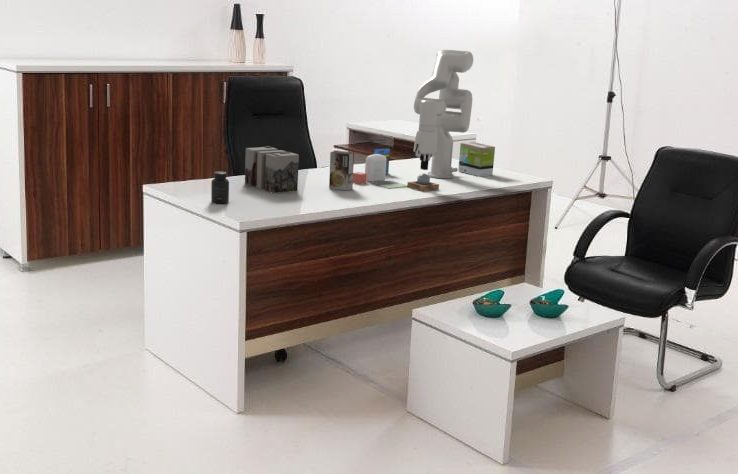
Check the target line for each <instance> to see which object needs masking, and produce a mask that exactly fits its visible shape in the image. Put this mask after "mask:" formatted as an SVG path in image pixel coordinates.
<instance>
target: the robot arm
mask: <svg viewBox="0 0 738 474" xmlns="http://www.w3.org/2000/svg"><path fill="white" fill-rule="evenodd" d="M473 64H474V55H473V53H472V52H471V51H467V50H455V49H454V50H453V49H442V50H439V51H438V52H437V53H436V58H435V62H434V66H433V70H432V72H431V73H432V74H431V78H430V79H429V80H428V79H427V81H425V82H424V83H423V84H422V85H421V86H420V87H419V88H418V90H417V92H416V95H415V97H414V103H413V110H414V113H415V114H417V115H419V122H418V130H417V131H416V134H415V138H414V145H413V152H414V153H415V155H414V156H415V157H417V158H419V161H420V170H423V171H428V170H429V161H430V160H431V167H430V171H429V172H427V175H428V176H429V177H430V178H435V179H453V178H454V177H455V176H454V175H455V174H453V173H455V172H459V171H458V169H459V168H458V167H452V161H453V160H452V158H453V149H454V148H453V146H454V139H453V137H452V135H451V134H450V132H451V133H452V132H453V133H460V134H461V133H462V134H463V133H466V132H468V130H469V129H470V125H471V117H472V116H471V115H472V107H473V94H472V92H471V91H470V90H468V89H464V88H461V89H460V88H459V85H460V84H459V83H460V78H459V75H458V74H457V73H462V74H463V73H467V72H468V71H469V70H470V69H471V68H472V67H473ZM437 91H438V92H439V94H438V98H429V97H426V96H428V95H429V94H431V93H434V92H437ZM447 109H452V110H460V111H451V110H447Z"/></svg>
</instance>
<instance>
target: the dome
mask: <svg viewBox="0 0 738 474" xmlns="http://www.w3.org/2000/svg"><path fill="white" fill-rule="evenodd" d="M416 180H417V184H421V185H429V184H430V182H431V181H430V180H431V177H430V176H428V173H420V174H419V175H418V176H417V179H416Z"/></svg>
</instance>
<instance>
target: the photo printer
mask: <svg viewBox="0 0 738 474" xmlns="http://www.w3.org/2000/svg"><path fill="white" fill-rule="evenodd" d="M386 161H387V160H386V156H384V155H380V154H374V153H373V154H369V155H368V156H366V157H365V163H364V164H365V166H364V173H367V178H366V183H367V182H368V183H370V182H379V181H386V175H387V174H386Z"/></svg>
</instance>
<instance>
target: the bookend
mask: <svg viewBox="0 0 738 474" xmlns="http://www.w3.org/2000/svg"><path fill="white" fill-rule="evenodd" d="M299 159H300V155H299V154H298V153H294V152H291V151H286V150H282V149H280V150H279V149H278V148H275V147H272V146H270V145H265V146H261V147H245V159H244V160H245V161H244V163H245V164H244V184H245V185H250V186H251V187H256V186H257V187H256V188H257V189H259V190H264V191H266V192H269V193H271V192H272V193H271V194H278V192H281V193H290V192H289V191H291V192H298V187H299V185H298V184H299V163H300V161H299Z"/></svg>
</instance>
